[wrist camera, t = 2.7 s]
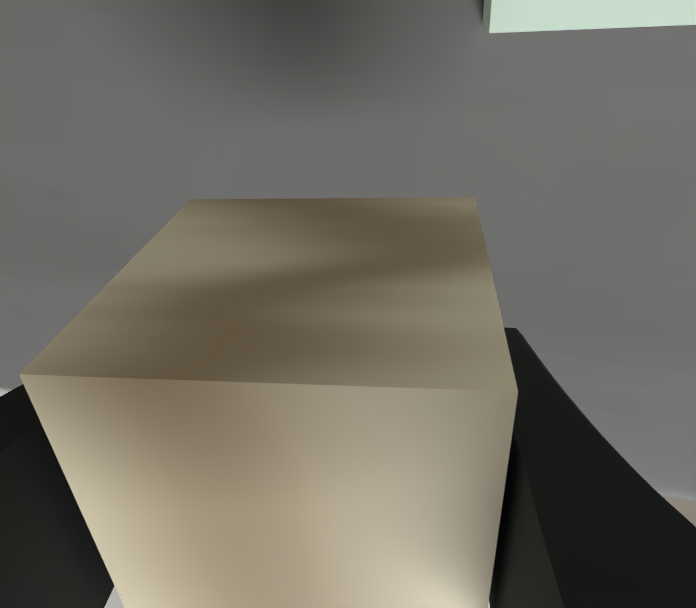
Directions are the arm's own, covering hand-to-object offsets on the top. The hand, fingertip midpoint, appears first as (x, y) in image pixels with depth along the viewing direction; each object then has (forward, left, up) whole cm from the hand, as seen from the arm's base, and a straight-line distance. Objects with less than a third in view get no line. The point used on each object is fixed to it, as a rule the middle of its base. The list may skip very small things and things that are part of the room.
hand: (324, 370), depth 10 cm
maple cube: (0, 0, -2) cm, 2 cm away
